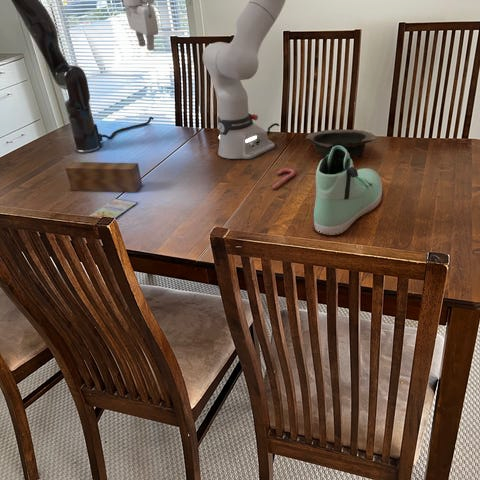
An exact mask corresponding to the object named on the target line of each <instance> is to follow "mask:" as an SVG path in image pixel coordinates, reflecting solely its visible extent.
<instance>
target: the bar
mask: <svg viewBox="0 0 480 480" xmlns="http://www.w3.org/2000/svg"><path fill="white" fill-rule="evenodd" d="M65 172H66V175H67V178H68V182H69V186H70V188H71V191H81V192H111V193H113V192H115V193H137V192H138V191H139V190H140V189H141V188H142V187H143V182H142V177H141V172H140V165H139V162H97V161H96V162H95V161H94V162H93V161H90V162H89V161H73V162H72V163H70V164H69V165H67V166H66V167H65Z"/></svg>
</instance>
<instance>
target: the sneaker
mask: <svg viewBox="0 0 480 480" xmlns="http://www.w3.org/2000/svg"><path fill="white" fill-rule="evenodd" d="M317 165H318V166H317V168H316V172H315V201H314V207H313V225H314V229H315V231H316V232H318V233H320V234H323V235H326V236H327V235H328V236H336V235H339V234H342V233H344V232H345V231H347V230H348V229H349V228H350V227H351V226H352V225H353V224H354V222H356V221H357V220H358V219H359V218H360V217H362V216H363V215H365V214H367V213H370V212H372V210H374V209H375V208H377V207H378V205H380V203H381V200H382V196H383V184H382V183H383V182H382V179H381V176H380V175H379V173H378V172H377V171H376V170H374V169H372V168H367V167H365V168H358V169H357V168H355V167H354V161H353V159H352V158H351V159H350V156H349V153H348V152H347V150H346V149H345V148H344V147H342V146H334V147H333V148H332V149H331V152H330V154H329V155H327V156H326V157H325V158H324V159H323V158H322V159H321V160H320V161H319V163H318V164H317ZM343 230H344V231H343ZM319 231H320V232H319ZM322 232H323V233H322ZM339 232H340V233H339ZM326 233H327V234H326ZM328 233H329V234H328ZM335 233H337V234H335Z"/></svg>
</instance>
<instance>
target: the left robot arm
mask: <svg viewBox="0 0 480 480" xmlns="http://www.w3.org/2000/svg"><path fill="white" fill-rule="evenodd" d="M10 1H11V3H12V5H13V6H14V9H16V11H17V13H18V15H19V17H20V18H21V21H22V23H23V24H24V26H25V28H26V30H27V31H28V33H29V34H30V36H31V38H32V39H33V42H34V43H35V45H36V47H37V48H38V50H39V52H40V53H41V55H42V57H43V59H44V60H45V63H46V65H47V67H48V70H49V72H50V73H51V76H52V78H53V80H54V83H55V84H56V85H57V86H58V87H59V88H60V89H62V90H65V91H67V97H68V99H67V100H65V102H64V106H65V110H66V114H67V115H66V116H67V118H68V122H69V126H70V130H71V133H72V137H73V142H74V143H73V144H74V147H75V150H76V152H77V153H80V154H87V153H92V152H96V151H97V150H99V149H100V148H102V142H103V141H104V140H103V138H106V139H107V140H111V139H113V138H114V136H115V135H116V134H117V133H120V132H123V131H127V130H131V129H134V128H138V127H139V128H141V127H144V126H147V125H148V124H151V121H152V120H154V117H153V116H150V117H148V120H147V121H146V122H143V123H138V124H134V125H129V126H127V127H122V128H119V129H117V130H114V131H113V132H112V133H111V134H110V136H109V135H107V134H102V133H99V129H98V125H97V123H95V121H94V116H93V113H92V108H91V104H90V102H91V101H90V100H91V94H90V89H89V83H88V78H87V75H86V73H85V71H84V69H83V68H81V67H80V66H77V65H72V64H69V62H68V61H67V60H66V58H65V56H64V54H63V53H62V51H61V47H60V43H59V35H58V29H57V27H56V24H55V23H54V20H53V18H52V17H51V15H50V13H49V12H48V10H47V8H46V6H45V5H44V4H43V3H42V2H41V1H40V0H10Z"/></svg>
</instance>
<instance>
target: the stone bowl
mask: <svg viewBox="0 0 480 480" xmlns="http://www.w3.org/2000/svg"><path fill="white" fill-rule="evenodd" d="M377 139H378V136H376V135H375V134H373V133H372V132H369V131H365V130H358V129H344V128H343V129H339V128H338V129H336V128H334V129H325V130H324V129H323V130H320V131H314V132H311V133H308V134H307V135H306V137H305V138H304V140H305V141H307V142H309V143H312V144H313V146H314V150H315V152H316V154H317V156H320V157H322V159H324V158H325V157H326V156H327V155H329V154H330V152H331V149H332V148H333V147H334V146H342V147H344V148H345V149H346V150H347V152H348V153H349V156H350V159H352V158H355V159H356V158H357V159H359V158H362V157H363V156H364V154H365V149H366V144H368V143H372V142H374V141H375V140H377Z"/></svg>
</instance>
